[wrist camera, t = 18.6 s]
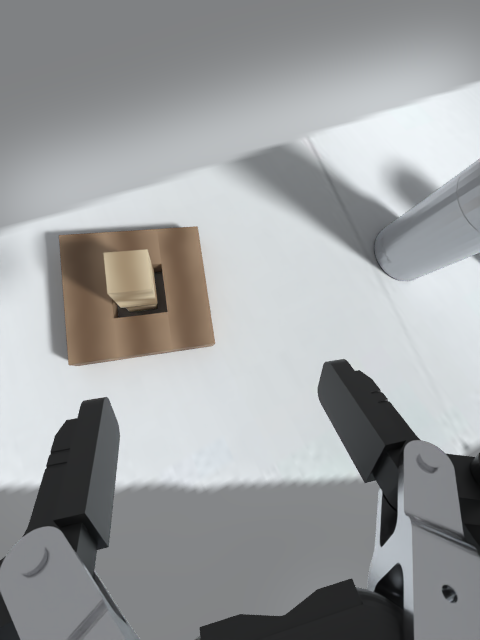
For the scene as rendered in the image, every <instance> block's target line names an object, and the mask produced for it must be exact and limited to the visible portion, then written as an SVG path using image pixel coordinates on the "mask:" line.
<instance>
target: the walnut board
mask: <svg viewBox="0 0 480 640" xmlns="http://www.w3.org/2000/svg"><path fill="white" fill-rule="evenodd" d="M59 243H60V256H61V270H62V283H63V296H64V310H65V323H66V336H67V350H68V363H69V365H74V366H81V365H88V364H94V363H101V362H108V361H115V360H121V359H128V358H135V357H142V356H148V355H155V354H162V353H168V352H175V351H182V350H189V349H195V348H202V347H209V346H213V345H214V344H215V339H214V332H213V326H212V319H211V312H210V306H209V299H208V293H207V286H206V279H205V273H204V266H203V259H202V253H201V246H200V240H199V233H198V226H197V227H182V228H166V229H150V230H134V231H119V232H103V233H87V234H71V235H59ZM146 249H148V253H149V256H150V260H151V263H152V267H153V270H154V273H158V272H163V280H164V288H165V296H166V304H167V311H168V312H163V313H155V314H147V315H138V316H130V317H122V318H119V316H118V306H117V303H116V302H115V301H114V300H113V299H112V298H111V297H110V296H109V295H108V294H107V284H106V274H105V263H104V253H107V252H120V251H133V250H146Z"/></svg>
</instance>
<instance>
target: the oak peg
mask: <svg viewBox="0 0 480 640" xmlns="http://www.w3.org/2000/svg"><path fill="white" fill-rule="evenodd" d="M104 263H105V274H106V284H107V294H108V295H109V296H110V297H111V298H112V299H113V300H114V301H115V302H116V303H117V304H118V305H119V306H120V307H121V308H126V309H127V310H128V311H129V312H135V311H144V310H152V309H158V308H157V304H158V302H157V294H156V286H155V278H154V270H153V267H152V263H151V260H150V256H149V253H148V249H146V250H133V251H120V252H107V253H104Z"/></svg>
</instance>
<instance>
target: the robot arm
mask: <svg viewBox="0 0 480 640" xmlns="http://www.w3.org/2000/svg"><path fill="white" fill-rule="evenodd" d="M477 253H480V159H478V160H477V161H476V162H474V163H473V164H471V165H470V166H469V167H468V168H466V169H465V170H463V171H462V172H461V173H459V174H458V175H457V176H455V177H454V178H452V179H451V180H450V181H448V182H447V183H446V184H444V185H443V186H442V187H440V188H439V189H437V190H436V191H435V192H433V193H432V194H431V195H429V196H428V197H426V198H425V199H424V200H422V201H421V202H420V203H418V204H417V205H416V206H414V207H413V208H411V209H410V210H409V211H407V212H406V213H405V214H403V215H402V216H400V217H399V218H398V219H396V220H395V221H394V222H392V223H391V224H389V225H388V226H387V227H385V228H384V229H383V230H382V231H381V232H380V233H379V234H378V236H377V238H376V241H375V255H376V258H377V261H378V263H379V265H380V266H381V268H382V269H383V270H384V271H385V272H386V273H387V274H388V275H389V276H391V277H393V278H395V279H397V280H401V281H411V280H414V279H416V278H419V277H421V276H424V275H426V274H429V273H431V272H434V271H436V270H439V269H441V268H444V267H446V266H448V265H451V264H453V263H456V262H458V261H461V260H463V259H465V258H468V257H470V256H473V255H475V254H477ZM318 397H319V400H320V403H321V405H322V406H323V408H324V410H325V412H326V414H327V416H328V417H329V419H330V421H331V423H332V425H333V426H334V428H335V430H336V432H337V434H338V435H339V437H340V439H341V441H342V443H343V444H344V446H345V448H346V450H347V452H348V453H349V455H350V457H351V459H352V461H353V463H354V464H355V466H356V468H357V470H358V472H359V473H360V475H361V477H362V479H363V481H364V482H365V483H367V482H371V481H375V480H376V481H377V483H378V485H379V486H380V489H379V493H378V507H377V523H376V539H375V549H374V554H373V558H372V561H371V564H370V569H369V576H368V587H367V590H366V589H362V588H356V587H355V585H354V582H353V580H352V579H349V580H346V581H342V582H339V583H336V584H333V585H330V586H327V587H324V588H321V589H318V590H316V591H315V592H314V593H312V594H311V595H310V596H309V597H308V598H306V599H305V600H304V601H302V602H301V603H300V604H299V605H297V606H296V607H295V608H293V609H292V610H291V611H290V612H288V613H287V614H286V615H283V616H262V615H243V614H240V615H237V616H233V617H230V618H227V619H224V620H221V621H218V622H215V623H212V624H209V625H205V626H202V627H200V636H199V637H198V638H197V639H196V640H480V453H479V454H478V455H477V456H476V457H469V456H460V455H452V454H445V453H444V452H443V451H442V450H441V449H439V448H438V447H436V446H435V445H433V444H431V443H429V442H426V441H421V440H420V439H419V438H418V437H417V436H416V435H415V433H414V432H413V431H412V430H411V428H410V427H409V426H408V424H407V423H406V422H405V421H404V419H403V418H402V417H401V416H400V414H399V413H398V412H397V410H396V409H395V408H394V407H393V405H392V404H391V403H390V402H388V399H387V398H386V396H385V395H384V394H383V393H382V392H381V391H380V389H379V388H378V386H377V385H376V384H375V382H374V381H373V380H372V379H371V378H370V377H368V376H367V375H365V374H364V373H363V372H361V371H360V370H358V371H354V369H353V368H352V367H351V365H350V364H349V363H348V361H346V360H345V359H341V360H335V361H329V362H325V363H324V365H323V369H322V373H321V377H320V381H319V385H318ZM119 441H120V433H119V425H118V422H117V419H116V417H115V414H114V411H113V409H112V406H111V403H110V401H109V399H108V397H104V398H98V399H91V400H85V401H83V402H82V403H81V406H80V410H79V414H78V418H76V419H70V420H66V422H65V423H64V424H63V426H62V427H61V428H60V430H59V431H58V433H57V434H56V435H55V438H54V442H53V445H52V448H51V455H49V458H48V462H47V465H46V466H47V468H46V469H45V472H44V475H43V479H42V482H41V485H40V489H39V492H38V495H37V499H36V502H35V506H34V509H33V512H32V516H31V519H30V522H29V525H28V528H27V530H26V532H25V534H24V535H23V537H22V538H21V539H20V540H19V541H18V542H17V543H16V544H15V545H14V546H13V547H12V548H11V550H10V551H9V552H8V554H7V555H6V556H5V557H4V558H3V559H2V560H0V640H140V638H139V637H138V635H137V634H136V633H135V632H134V630H133V629H132V627H131V626H130V624H129V623H128V621H127V620H126V618H125V617H124V615H123V613H122V612H121V610H120V609H119V607H118V606H117V604H116V603H115V601H114V599H113V598H112V596H111V595H110V593H109V592H108V590H107V588H106V587H105V585H104V584H103V582H102V581H101V579H100V577H99V576H98V574H97V573H96V571H95V570H94V568H95V560H96V553H97V550H99V549H103V548H107V547H109V538H110V528H111V518H112V509H113V499H114V490H115V480H116V470H117V461H118V451H119Z"/></svg>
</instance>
